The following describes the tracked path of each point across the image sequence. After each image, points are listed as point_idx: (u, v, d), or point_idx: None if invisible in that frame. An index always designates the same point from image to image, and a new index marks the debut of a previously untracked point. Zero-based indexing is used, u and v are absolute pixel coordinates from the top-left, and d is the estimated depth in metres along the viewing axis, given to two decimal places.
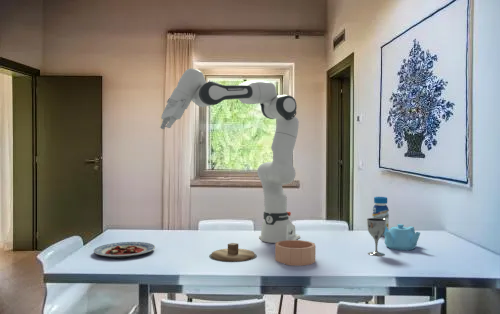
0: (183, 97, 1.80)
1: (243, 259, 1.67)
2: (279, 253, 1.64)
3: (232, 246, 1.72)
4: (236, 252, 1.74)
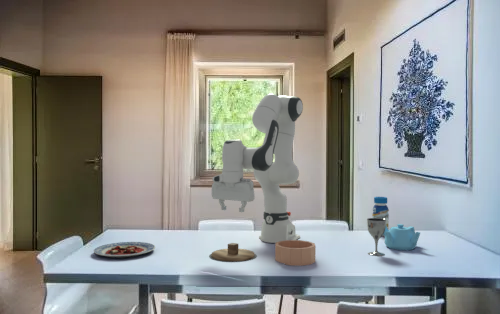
0: (240, 175, 1.71)
1: (243, 259, 1.67)
2: (279, 253, 1.64)
3: (232, 246, 1.72)
4: (236, 252, 1.74)
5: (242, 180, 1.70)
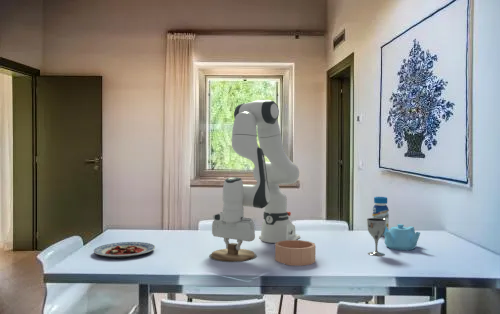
0: (241, 214, 1.71)
1: (243, 259, 1.67)
2: (279, 253, 1.64)
3: (232, 246, 1.72)
4: (236, 252, 1.74)
5: (242, 219, 1.71)
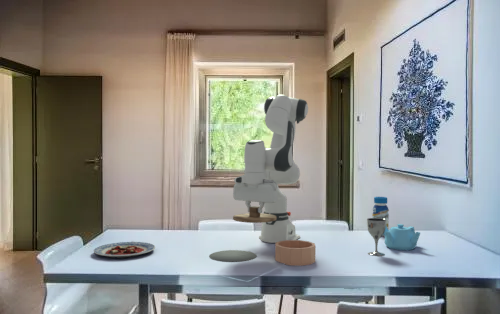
0: (263, 176, 1.69)
1: (265, 221, 1.64)
2: (279, 253, 1.64)
3: (254, 209, 1.70)
4: (258, 215, 1.72)
5: (265, 181, 1.69)
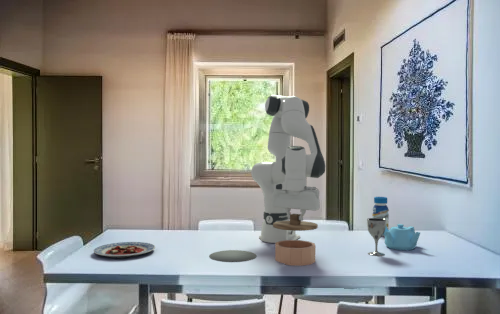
0: (305, 183, 1.66)
1: (309, 228, 1.61)
2: (279, 253, 1.64)
3: (295, 216, 1.67)
4: (299, 223, 1.68)
5: (307, 188, 1.65)
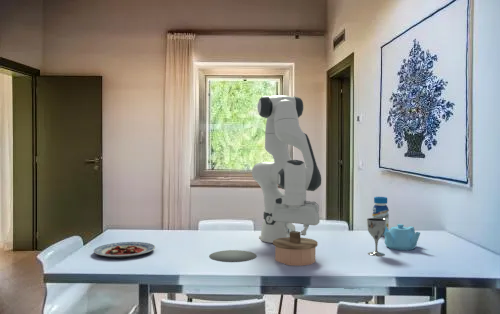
0: (304, 198, 1.66)
1: (308, 247, 1.61)
2: (279, 253, 1.64)
3: (295, 234, 1.67)
4: (298, 240, 1.68)
5: (306, 203, 1.65)
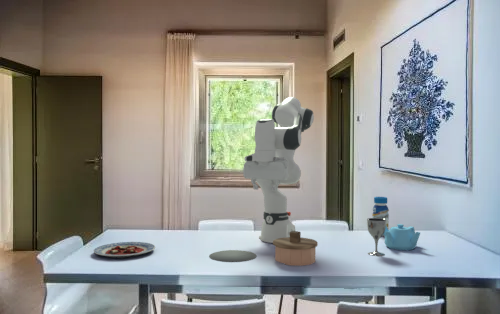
0: (274, 154, 1.72)
1: (308, 247, 1.61)
2: (279, 253, 1.64)
3: (295, 234, 1.67)
4: (298, 240, 1.68)
5: (275, 159, 1.71)
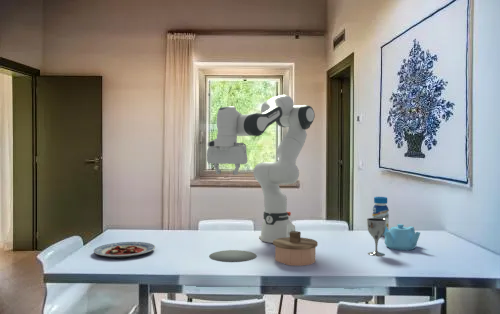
0: (234, 140, 1.81)
1: (308, 247, 1.61)
2: (279, 253, 1.64)
3: (295, 234, 1.67)
4: (298, 240, 1.68)
5: (236, 144, 1.80)
